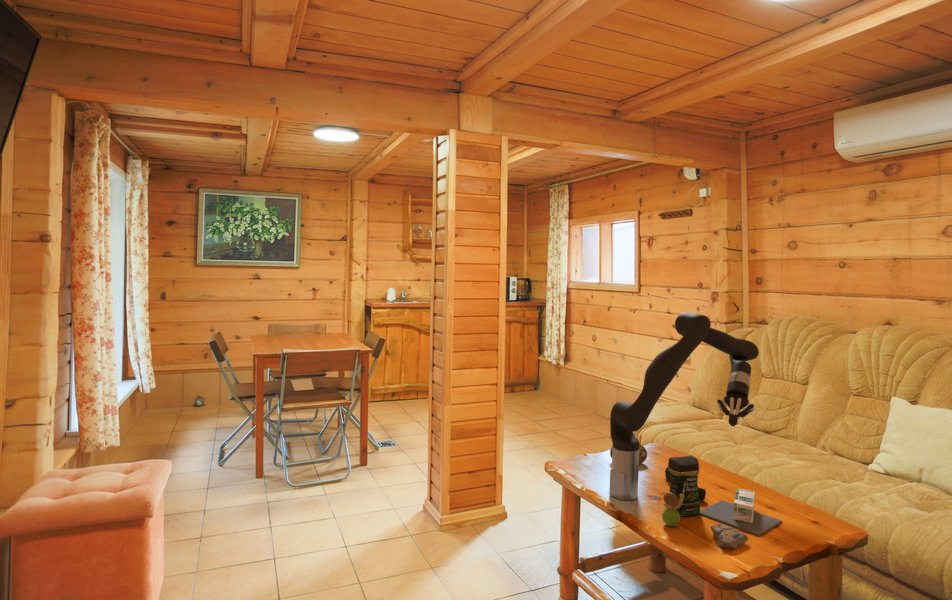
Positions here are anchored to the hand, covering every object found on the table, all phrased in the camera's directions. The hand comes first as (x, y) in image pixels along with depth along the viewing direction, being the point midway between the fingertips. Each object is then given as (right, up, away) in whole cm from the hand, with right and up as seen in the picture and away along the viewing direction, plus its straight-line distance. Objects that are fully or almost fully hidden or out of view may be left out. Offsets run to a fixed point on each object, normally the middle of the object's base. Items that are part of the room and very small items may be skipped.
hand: (732, 425), depth 203 cm
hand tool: (-17, -25, +5) cm, 31 cm away
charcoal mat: (-7, -26, -19) cm, 33 cm away
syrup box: (-1, -22, -11) cm, 25 cm away
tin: (-29, -23, +32) cm, 49 cm away
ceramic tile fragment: (-17, -27, -35) cm, 48 cm away
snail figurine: (-31, -26, -26) cm, 48 cm away
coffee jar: (-23, -25, -16) cm, 38 cm away
